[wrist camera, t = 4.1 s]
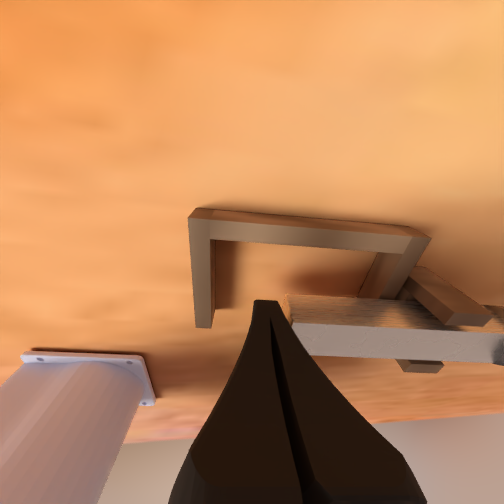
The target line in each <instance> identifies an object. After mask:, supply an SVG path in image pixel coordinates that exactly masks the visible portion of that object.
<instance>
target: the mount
mask: <svg viewBox="0 0 504 504" xmlns="http://www.w3.org/2000/svg"><path fill="white" fill-rule="evenodd" d="M188 228H189V242H190V255H191V269H192V283H193V296H194V310H195V324H196V328H211V327H212V322H213V317H214V312H215V239H216V240H229V241H242V242H255V243H268V244H280V245H293V246H306V247H319V248H332V249H345V250H358V251H371V252H378V254H377V256H376V258H375V260H374V262H373V265H372V267H371V269H370V271H369V273H368V275H367V277H366V279H365V281H364V283H363V285H362V288H361V290H360V292H359V294H358V296H357V298H367V299H383V300H399V301H415V302H420V303H421V304H422V305H423V306H424V307H426V308H427V309H428V310H429V311H430V312H431V313H432V314H433V315H434V316H435V317H437V318H438V319H439V320H440V321H441V322H442V323H443V324H444V325H458V326H476V327H484V326H485V325H486V324H487V323H488V322H489V321H490V320H491V319H492V318H493V317H494V316H495V315H494V314H493V313H491V312H490V311H488V310H487V309H485V308H484V307H482V306H481V305H479V304H478V303H477V302H475V301H474V300H472V299H471V298H469V297H468V296H466V295H465V294H463V293H462V292H460V291H459V290H458V289H456V288H455V287H453V286H452V285H450V284H449V283H447V282H446V281H444V280H443V279H441V278H440V277H439V276H437V275H436V274H434V273H433V272H431V271H430V270H428V269H427V268H425V267H416V266H415V265H416V263H417V261H418V260H419V258H420V256H421V255H422V253H423V251H424V250H425V248H426V246H427V245H428V243H429V242H430V240H431V238H430V237H428V236H426V235H424V234H422V233H420V232H418V231H416V230H414V229H412V228H410V227H408V226H398V225H386V224H375V223H363V222H352V221H340V220H329V219H317V218H306V217H294V216H283V215H271V214H260V213H248V212H237V211H225V210H214V209H202V208H196V209H195V210H194V211H193V212H192V213H191V215H190V216H189V217H188ZM396 361H397V362H398V364H399V365H400V367H401V368H402V370H403V371H404V372H415V373H437V372H438V371H439V370H440V369H441V368H442V367H443V366H444V364H443V363H442V362H441V361H433V360H410V359H396Z"/></svg>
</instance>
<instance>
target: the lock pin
mask: <svg viewBox="0 0 504 504" xmlns="http://www.w3.org/2000/svg"><path fill="white" fill-rule="evenodd" d="M481 306H482V307H484V308H485V309H487V310H488V311H490V312H491V313H493V314H494V315H495V316H494V317H493V318H492V319H491V320H490V321H489V322H488V323H487V324H486V325H485V326H484V327H476V326H458V325H444V324H443V323H442V322H441V321H440V320H439V319H438V318H437V317H435V316H434V315H433V314H432V313H431V312H430V311H429V310H428V309H427V308H426V307H424V306H423V305H422V304H421V303H420V302H415V301H399V300H383V299H367V298H351V297H335V296H319V295H303V294H287V293H286V295H285V299H284V303H283V308H282V311H283V313H284V315H285V317H286V318H287V320H288V322H289V324H290V325H291V327H292V329H293V330H294V332H295V334H296V335H297V337H298V339H299V340H300V342H301V343H302V345H303V346H304V348H305V349H306V350H307V352H308V353H309V355H316V356H340V357H363V358H386V359H410V360H433V361H456V362H480V363H493V364H497V365H502V366H504V307H503V306H489V305H481Z"/></svg>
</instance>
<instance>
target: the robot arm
mask: <svg viewBox="0 0 504 504" xmlns="http://www.w3.org/2000/svg"><path fill="white" fill-rule="evenodd" d="M20 358H21V359H22V360H23V362H24V364H23V365H22V366H21V367H20V368H19V369H18V370H17V371H16V372H15V373H13V374H12V375H11V376H10V377H9V378H8V379H7V380H6V381H5V382H4V383H3V384H2V385H1V386H0V504H97V502H98V500H99V498H100V495H101V493H102V490H103V488H104V486H105V483H106V481H107V479H108V476H109V474H110V472H111V469H112V467H113V465H114V462H115V460H116V458H117V455H118V453H119V451H120V448H121V446H122V444H123V441H124V439H125V436H126V434H127V432H128V429H129V427H130V425H131V422H132V420H133V418H134V415H135V413H136V411H137V408H138V406H153V405H154V404H155V402H156V398H155V395H154V391H153V388H152V385H151V381H150V378H149V375H148V372H147V368H146V365H145V362H144V359H143V357H141V356H139V355H119V354H95V353H70V352H46V351H26V352H24V353H23V354H22V355H21V356H20ZM168 504H427V500H426V498H425V496H424V494H423V492H422V490H421V488H420V486H419V484H418V482H417V480H416V478H415V476H414V474H413V472H412V471H411V469H410V467H409V465H408V464H407V462H406V460H405V459H404V457H403V455H402V454H401V453H400V452H399V451H398V450H397V449H396V448H395V447H393V445H392V444H390V443H389V442H388V441H387V440H386V439H385V438H384V437H383V436H382V435H381V434H380V433H379V432H378V431H377V430H376V429H375V428H374V427H372V425H371V424H370V423H369V422H368V421H367V420H366V419H365V418H364V417H363V416H362V415H361V414H360V413H359V412H358V411H357V410H356V409H355V408H354V407H353V406H352V405H351V404H350V403H349V402H348V400H347V399H346V398H345V397H344V396H343V395H342V394H341V393H340V392H339V391H338V389H337V388H336V387H335V386H334V385H333V384H332V383H331V381H330V380H329V379H328V378H327V377H326V375H325V374H324V373H323V372H322V371H321V369H320V368H319V367H318V365H317V364H316V363H315V361H314V360H313V359H312V357H311V356H310V355H309V353H308V352H307V350H306V349H305V348H304V346H303V345H302V343H301V342H300V340H299V339H298V337H297V335H296V334H295V332H294V330H293V329H292V327H291V325H290V324H289V322H288V320H287V318H286V317H285V315H284V313H283V311H282V309H281V307H280V305H279V303H278V301H272V300H255V301H254V305H253V313H252V321H251V325H250V328H249V332H248V335H247V338H246V340H245V343H244V346H243V349H242V351H241V354H240V356H239V358H238V361H237V363H236V365H235V367H234V370H233V372H232V374H231V376H230V378H229V380H228V382H227V384H226V386H225V388H224V390H223V392H222V394H221V395H220V397H219V399H218V401H217V403H216V405H215V406H214V408H213V410H212V412H211V414H210V415H209V417H208V419H207V421H206V422H205V424H204V426H203V427H202V429H201V430H200V432H199V434H198V435H197V437H196V439H195V440H194V442H193V444H192V445H191V447H190V449H189V452H188V454H187V456H186V459H185V461H184V463H183V465H182V467H181V469H180V472H179V474H178V476H177V479H176V481H175V484H174V486H173V489H172V492H171V495H170V498H169V502H168Z"/></svg>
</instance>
